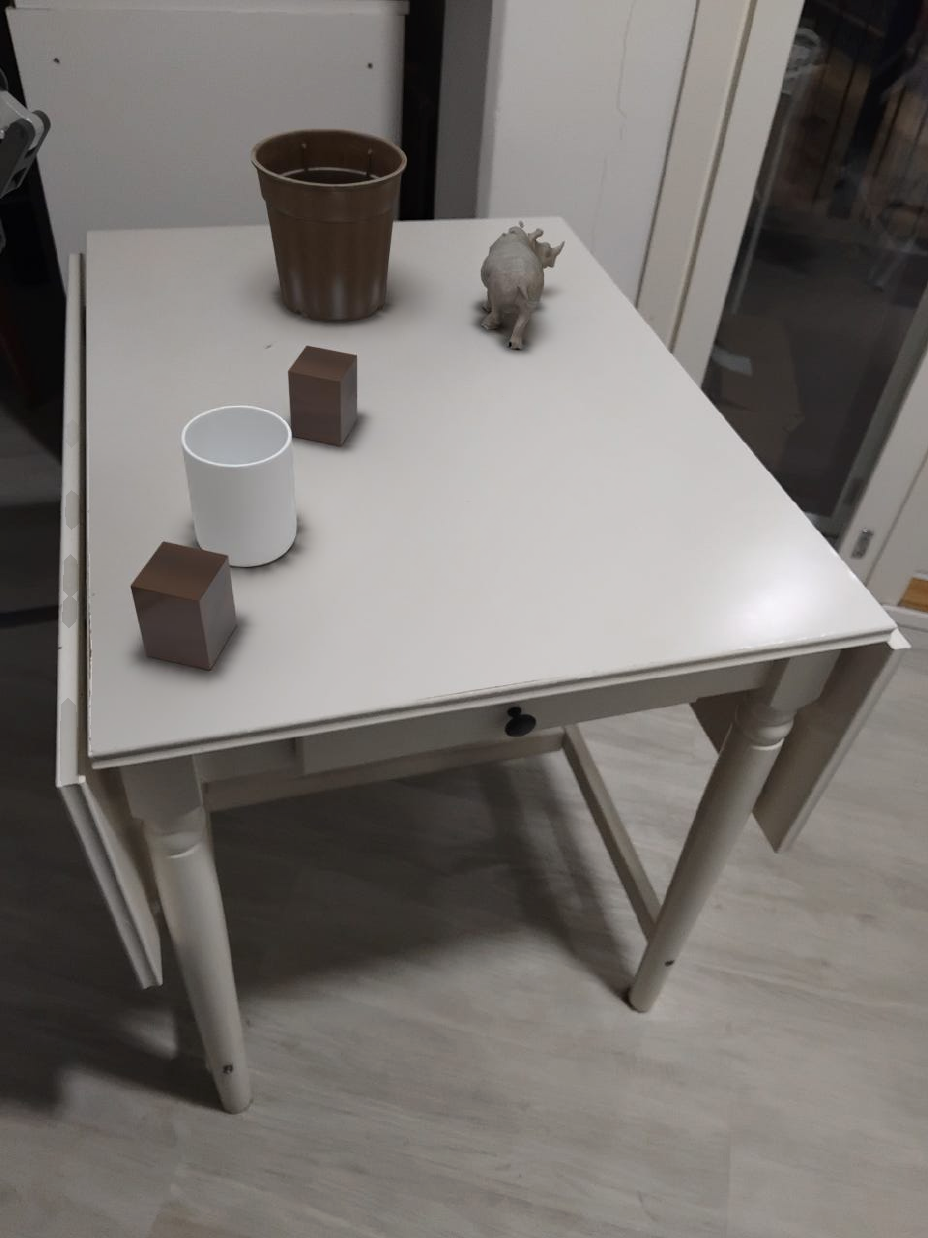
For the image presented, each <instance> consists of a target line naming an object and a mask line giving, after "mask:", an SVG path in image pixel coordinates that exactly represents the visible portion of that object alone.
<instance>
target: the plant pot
mask: <svg viewBox="0 0 928 1238" xmlns="http://www.w3.org/2000/svg"><path fill="white" fill-rule="evenodd" d="M250 161H251V164H252V165H253V167H254V168H255V169H256V174H257V178H258V183H259V188H260V195H261V198H262V199H263V200H264V202H265V206H266V207H265V208H266V213H267V218H268V224H269V229H270V236H271V240H272V241H271V242H272V246H273V247H272V248H273V253H274V259H275V264H276V270H277V276H278V283H279V291H280V296H281V297H280V298H281V300H282V301H283V303H284V305H285V306H286V308H287V309H288V310H290V311H291V312H293V313H294V314H299V313H302V314H304V315H306V316H307V317H308V318H309V319H310V320H315V321H321V322H334V323H339V322H350V321H355V320H361V319H363V318H366V317H370V316H371V315H372V314H373V312H374V311H375V310H376V309H381V308H382V307H383V306H384V304H385V302H386V297H387V287H388V286H387V285H388V275H389V265H390V254H391V247H392V246H391V245H392V238H393V237H392V236H393V228H394V227H393V226H394V219H395V211H396V204H397V203H398V201H399V198H400V191H401V190H400V189H401V180H402V174H403V173H404V171H405V170H406V168H407V164H408V163H407V161H408V159H407V156H406V154H405V152H404V151H403V150H402V149H401V148H400V147H399V146H397V145H396V144H394V143H393V142H391V141H389V140H387V139H385V138H382V137H380V136H377V135H373V134H370V133H367V132H361V131H356V130H351V129H340V128H304V129H295V130H289V131H283V132H280V133H277V134H272V135H270V136H267V137H266V138H263V139H262V140H260V141H258V142H257V143H255V145H254V146H253V147H252V149H251V150H250Z"/></svg>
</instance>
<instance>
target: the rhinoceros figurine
mask: <svg viewBox="0 0 928 1238" xmlns="http://www.w3.org/2000/svg"><path fill="white" fill-rule="evenodd" d="M518 224H519V226H518V225H517V226H516V225H515V226H511V227H510V228H508V232H507V233H506V232H502V233H501V235H500V236H499V237H498V238H497V239H496V240H495V241H493V243H492V244H491V245H490V246H489V251H488V255H487V256H486V257H485V259H484V260H483V263H482V265H481V268H480V280H481V283H482V285H483V286H484V287H485V288H486V289H487V291H486V295H487V299H486V302H484V303H483V305H482V307H483V309H485V311H486V312H488V313H489V314H488V315H487V316H486V317H484V318H483V321H482V323H480V324H481V326H482V327H483V328H485V329H486V330H492V329H493V330H495V329H498V328H500V325H499V324H501V323H502V322H503V319H504V317H505V316H506V315H507V314H513V315H514V314H515V315H517V319H516V321H515V324H514V326H513V330H512V335H511V337H510V339H509V341H508V342H507V347H508V348H509V349H511V350H516V349H519V350H521V351H522V350H523V349H524V348H525V346H524V344H523V331H524V329H525V327H526V325H527V323H528V322H529V321H530V320H531V318H532V316H533V315H534V313H535V312H536V310H537V308H538V305H539V304H540V303H539V302H540V301H541V296H542V294H543V291H544V289H545V270H544V269H547V268H550V269H551V268H552V269H553V268H555V264H556V260H557V257H558V256H559V255H560V253H561V252H562V250H563V248H564V246H565V243H566V241H565V240H563V241H561V243H560V244H559V245H557V246H555V247H551V243H549V242H548V241H544V242H539V241H538V240H537V239H538V238H541V237H543V235H544V230H543V228H540V227H536V229H535V231H533V232H531V233H530V232H528V233H526V231H524V230H523V228H524V222H523V221H522V220H519V222H518ZM510 344H511V346H510Z"/></svg>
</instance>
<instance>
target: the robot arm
mask: <svg viewBox="0 0 928 1238" xmlns="http://www.w3.org/2000/svg"><path fill="white" fill-rule="evenodd" d="M7 79H8V78H7V77H6V75H5V73H4V72H3V70H2V69H1V68H0V140H1V142H0V199H2V198H3V197H4V196H5V195H7V194H8V193H9V192H11V191H15V190H16V189H18V188H20V186H21V185H22V183H23V181H24V180H25V178H26V175H27V173H28V172H29V170H30V168H31V166H32V164H33V162H34V160H35V159H36V157H37V154H38V152H39V151H40V149H41V147H42V145H43V143H44V141H45V139H46V138H47V135H48V134H49V132H50V130H51V126H52V124H51V120H50V118H49V116H48V114H46V113H45V112H44V111H42V110H40V109H36V110H34V111H33V110H32V111H30V110H29V109H27V107H25V106H24V105H23V104H22V103H21V102H20V101H18V99H17V98H16V97H14V96H13V95H12V94H11V93H10V92H9V83H8V80H7ZM6 238H7V237H6V235H5V231H4V226H3V224H2V219H1V218H0V254H1V253H3V252H2V251H3V248H5V247H6V241H7V239H6Z"/></svg>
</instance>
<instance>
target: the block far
mask: <svg viewBox="0 0 928 1238" xmlns="http://www.w3.org/2000/svg"><path fill="white" fill-rule="evenodd" d="M287 378H288V382H287V383H288V399H289V414H290V416H289V417H290V429H291V432H292V437H294V438H299V439H304V440H309V441H314V442H318V443H323V444H328V445H334V446H338V447H342V446H343V444H344V442H345V440H346V438H347V437H348V436H349V434H350V432H351V430H352V428H353V426H354V425H355V423H356V421H357V420H358V355H357V354H353V353H348V352H342V351H337V350H331V349H327V348H321V347H318V346H312V345H305V347H304V348H303V350H302V351H301V352H300V353H299V355H298V356H297V358H296V359H295V360H294V362H293V364H292V365H291V366H290V367H289V369H288V370H287Z"/></svg>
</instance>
